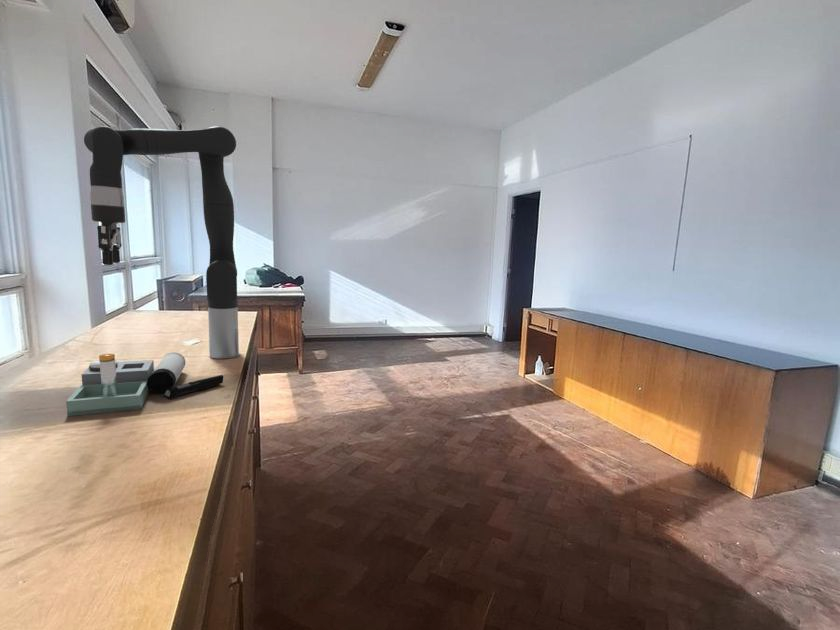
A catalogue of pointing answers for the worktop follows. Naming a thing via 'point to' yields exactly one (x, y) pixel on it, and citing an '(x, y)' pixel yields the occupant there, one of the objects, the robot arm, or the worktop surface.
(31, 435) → the worktop surface
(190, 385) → the electric trimmer
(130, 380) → the grey slotted holder
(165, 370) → the travel mug
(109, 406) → the tray
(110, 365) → the gold capped cylinder
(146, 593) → the worktop surface
